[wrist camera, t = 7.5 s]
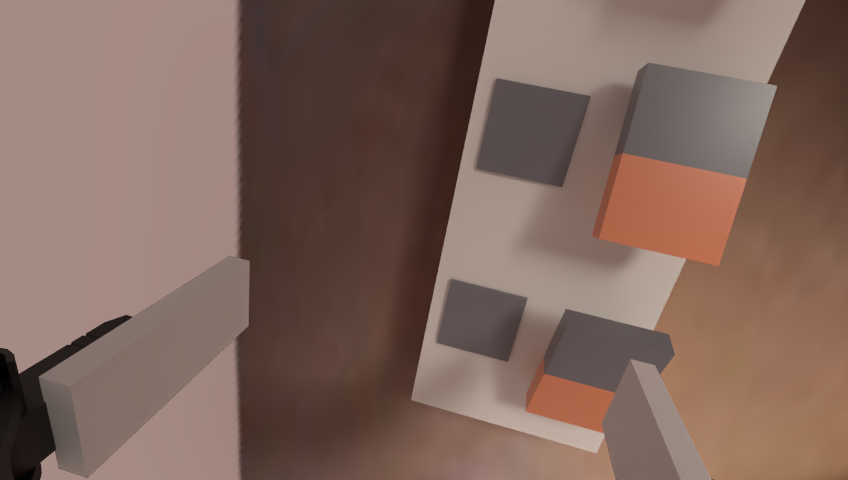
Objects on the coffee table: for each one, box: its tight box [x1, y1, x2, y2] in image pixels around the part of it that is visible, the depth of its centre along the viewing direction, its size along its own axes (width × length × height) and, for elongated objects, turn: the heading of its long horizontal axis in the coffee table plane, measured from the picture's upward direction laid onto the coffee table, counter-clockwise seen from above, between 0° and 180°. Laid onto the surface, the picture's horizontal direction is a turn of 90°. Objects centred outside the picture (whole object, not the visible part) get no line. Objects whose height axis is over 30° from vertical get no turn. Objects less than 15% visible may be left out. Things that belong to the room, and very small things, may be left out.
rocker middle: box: [592, 63, 777, 266], centre depth 15 cm, size 6×4×1 cm, turn 170°
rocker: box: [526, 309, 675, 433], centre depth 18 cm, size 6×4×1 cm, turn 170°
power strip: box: [411, 0, 805, 453], centre depth 17 cm, size 33×10×4 cm, turn 170°
